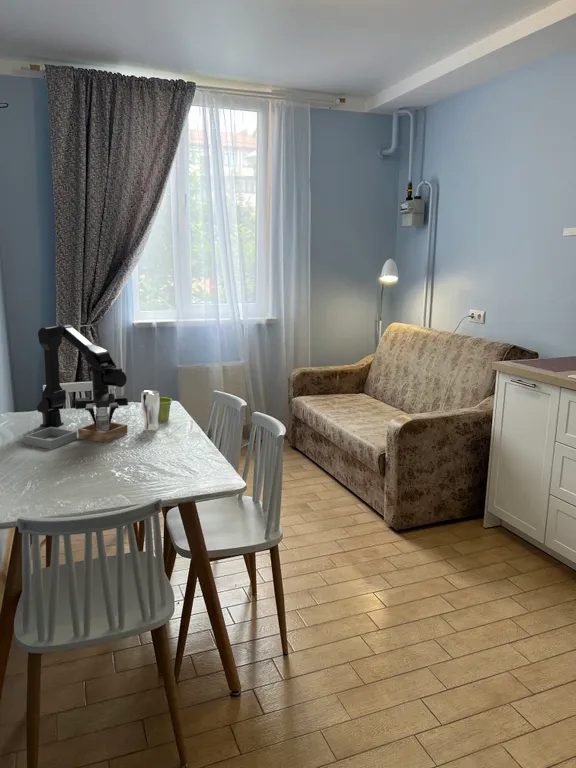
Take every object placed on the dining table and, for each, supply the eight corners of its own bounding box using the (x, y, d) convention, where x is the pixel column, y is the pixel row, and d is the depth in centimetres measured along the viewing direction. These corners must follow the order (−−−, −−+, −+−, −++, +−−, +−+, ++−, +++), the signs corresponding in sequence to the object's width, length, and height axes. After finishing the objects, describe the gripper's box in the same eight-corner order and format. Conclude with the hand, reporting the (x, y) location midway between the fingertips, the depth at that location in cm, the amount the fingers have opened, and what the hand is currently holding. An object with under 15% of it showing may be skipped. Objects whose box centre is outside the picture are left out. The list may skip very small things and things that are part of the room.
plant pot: (176, 418, 246) (175, 398, 244) (166, 424, 237) (166, 403, 235) (155, 416, 248) (155, 396, 246) (145, 422, 239) (145, 401, 237)
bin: (24, 443, 210) (24, 436, 209) (51, 434, 221) (51, 426, 221) (51, 449, 205) (50, 441, 205) (77, 439, 216) (76, 431, 216)
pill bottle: (97, 427, 223) (96, 406, 221) (110, 427, 223) (109, 406, 221) (94, 431, 218) (93, 409, 216) (107, 431, 218) (106, 409, 216)
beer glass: (162, 426, 233) (161, 390, 230) (157, 432, 226) (156, 394, 223) (145, 426, 234) (144, 389, 230) (139, 431, 227) (138, 394, 224)
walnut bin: (78, 437, 218) (78, 428, 217) (101, 428, 229) (101, 420, 228) (105, 442, 213) (104, 433, 212) (127, 433, 224) (127, 424, 223)
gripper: (74, 390, 206) (77, 432, 209) (128, 387, 213) (130, 427, 216) (73, 383, 216) (76, 423, 220) (125, 380, 223) (127, 419, 226)
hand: (102, 423), depth 220 cm, fingers closed on pill bottle, 5 cm apart
